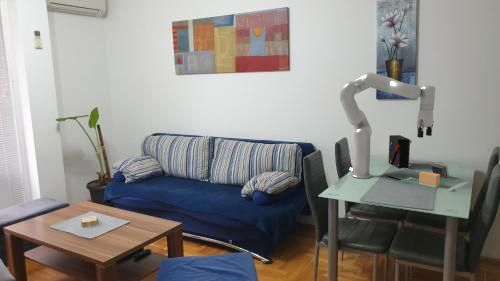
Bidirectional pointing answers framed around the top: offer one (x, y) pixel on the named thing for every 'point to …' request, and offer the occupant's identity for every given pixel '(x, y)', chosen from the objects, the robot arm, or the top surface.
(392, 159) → the electrical component
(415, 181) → the pin header board
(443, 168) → the electrical switch
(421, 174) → the plug housing
